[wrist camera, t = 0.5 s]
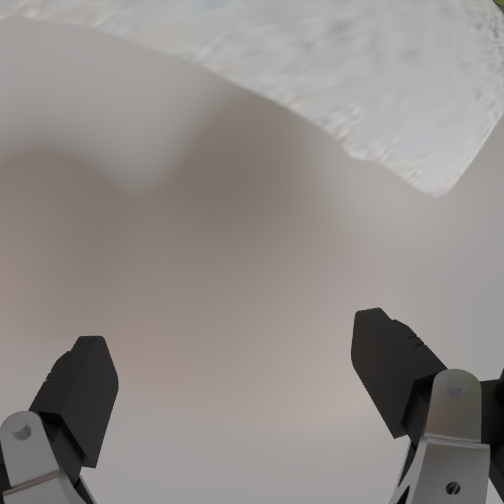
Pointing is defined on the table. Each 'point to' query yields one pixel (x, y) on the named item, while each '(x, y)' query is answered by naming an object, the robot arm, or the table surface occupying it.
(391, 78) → the table surface
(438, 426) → the robot arm
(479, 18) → the table surface
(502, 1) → the plant pot
